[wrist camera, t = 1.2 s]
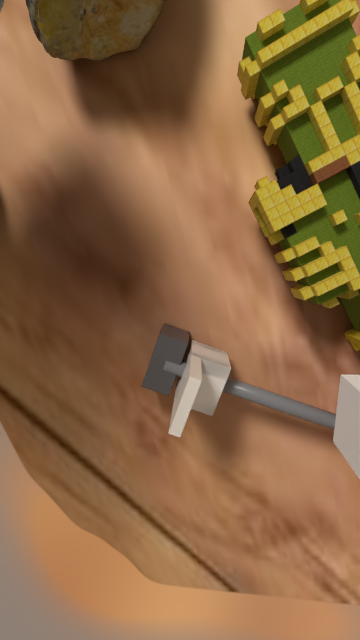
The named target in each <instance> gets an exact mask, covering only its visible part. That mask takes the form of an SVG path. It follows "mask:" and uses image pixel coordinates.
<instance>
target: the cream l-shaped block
mask: <svg viewBox="0 0 360 640" xmlns="http://www.w3.org/2000/svg"><path fill="white" fill-rule="evenodd" d="M184 362H187V364H186V367H185V370H184V372H183V375H182V377H179V378H178V380H177V384H176V390H175V396H174V402H173V408H172V414H171V420H170V426H169V432H168V434H171V435H174V436H177V437H180V436H181V434H182V431H183V428H184V426H185V423H186V421H187V418H188V415H189V413H190V410H191V409H193V410H195V411H198V412H201V413H204V414H207V415H210V416H213V413H214V411H215V408H216V406H217V403H218V401H219V398H220V396H221V393H222V391H223V388H224V386H225V383H226V381H227V378H228V376H229V373H230V371H231V365H230V362H229V358H228V354H227V352H225V351H223V350H220V349H217V348H214V347H211V346H208V345H205V344H202V343H199V342H197V341H194V340H192V342H191V345H190V348H189V350H188V353H187V356H186V359H185V361H184Z"/></svg>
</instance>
